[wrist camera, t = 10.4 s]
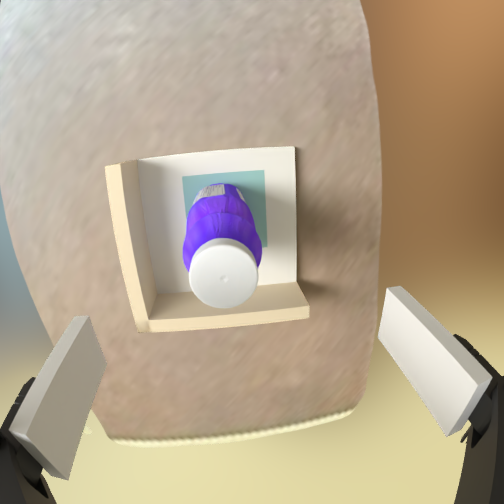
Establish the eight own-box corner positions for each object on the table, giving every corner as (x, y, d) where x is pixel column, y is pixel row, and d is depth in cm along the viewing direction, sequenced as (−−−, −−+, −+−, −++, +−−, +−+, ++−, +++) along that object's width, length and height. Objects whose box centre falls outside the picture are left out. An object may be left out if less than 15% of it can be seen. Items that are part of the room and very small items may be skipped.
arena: (126, 161, 31) (104, 166, 24) (292, 146, 33) (310, 147, 26) (149, 301, 37) (138, 332, 31) (294, 289, 39) (308, 317, 32)
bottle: (190, 184, 32) (162, 226, 16) (242, 177, 32) (267, 213, 16) (200, 246, 34) (187, 337, 18) (249, 240, 35) (276, 326, 19)
